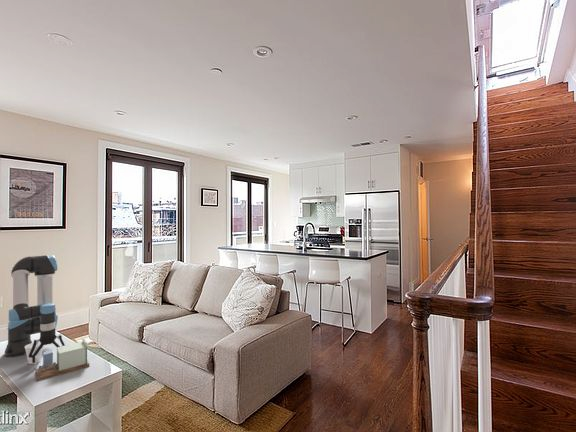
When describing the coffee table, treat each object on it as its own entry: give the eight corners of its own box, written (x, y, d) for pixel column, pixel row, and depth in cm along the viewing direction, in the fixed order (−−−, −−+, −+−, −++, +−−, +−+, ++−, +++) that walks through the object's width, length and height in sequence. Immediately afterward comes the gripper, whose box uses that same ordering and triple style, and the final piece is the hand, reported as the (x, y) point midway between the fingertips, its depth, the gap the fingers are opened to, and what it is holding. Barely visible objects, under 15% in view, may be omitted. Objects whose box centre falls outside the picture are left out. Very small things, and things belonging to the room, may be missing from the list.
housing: (56, 364, 190) (56, 342, 190) (83, 357, 199) (83, 337, 199) (58, 370, 181) (58, 348, 181) (87, 363, 190) (87, 342, 190)
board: (35, 371, 184) (35, 363, 184) (85, 358, 201) (85, 351, 201) (37, 380, 173) (37, 372, 173) (89, 366, 190) (89, 359, 190)
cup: (33, 366, 190) (33, 348, 190) (20, 365, 192) (20, 347, 192) (48, 359, 200) (48, 342, 200) (36, 357, 202) (36, 341, 202)
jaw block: (43, 365, 192) (43, 352, 192) (52, 362, 195) (52, 350, 195) (43, 367, 188) (43, 354, 188) (52, 365, 191) (52, 352, 191)
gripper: (23, 335, 181) (23, 373, 181) (71, 326, 197) (71, 360, 197) (22, 332, 187) (22, 368, 187) (70, 323, 202) (70, 356, 202)
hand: (47, 364), depth 192 cm, fingers open, 11 cm apart
